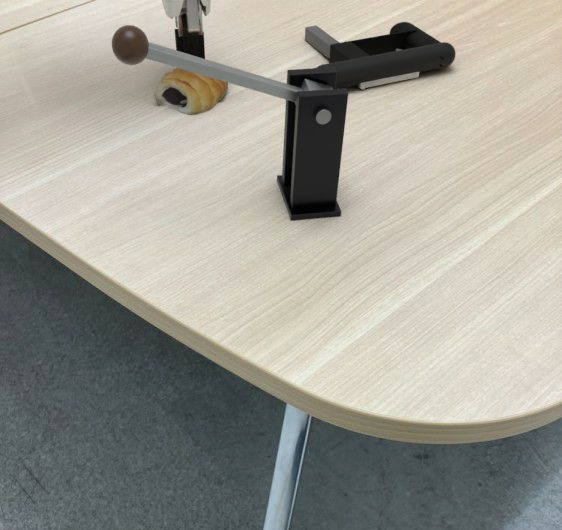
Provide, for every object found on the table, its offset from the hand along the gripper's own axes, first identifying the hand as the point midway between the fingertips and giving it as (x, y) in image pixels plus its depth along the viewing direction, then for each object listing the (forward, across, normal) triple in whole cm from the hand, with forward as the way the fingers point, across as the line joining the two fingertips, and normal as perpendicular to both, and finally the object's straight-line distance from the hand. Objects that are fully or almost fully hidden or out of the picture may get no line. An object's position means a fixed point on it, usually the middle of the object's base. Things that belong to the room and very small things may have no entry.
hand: (191, 63), depth 94 cm
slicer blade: (-11, +27, 0) cm, 29 cm away
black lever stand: (+2, +28, +8) cm, 29 cm away
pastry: (+2, +5, -1) cm, 6 cm away
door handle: (+3, -2, +22) cm, 22 cm away
